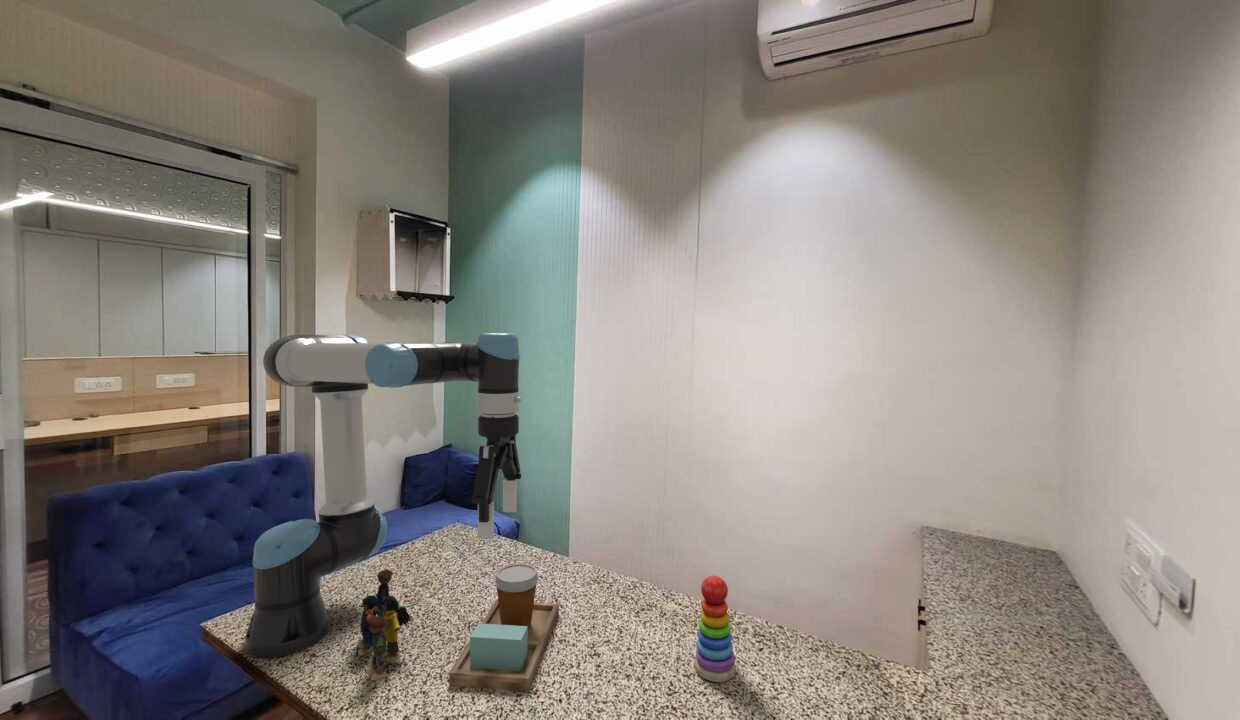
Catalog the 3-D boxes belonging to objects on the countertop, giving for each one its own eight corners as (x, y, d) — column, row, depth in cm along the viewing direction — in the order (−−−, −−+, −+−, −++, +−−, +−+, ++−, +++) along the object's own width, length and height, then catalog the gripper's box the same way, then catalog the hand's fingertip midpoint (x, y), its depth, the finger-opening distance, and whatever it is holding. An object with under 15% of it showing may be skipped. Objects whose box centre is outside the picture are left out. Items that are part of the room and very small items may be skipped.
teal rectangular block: (470, 667, 95) (469, 636, 95) (478, 652, 99) (478, 623, 99) (521, 670, 94) (521, 640, 94) (527, 655, 99) (527, 626, 98)
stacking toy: (706, 652, 103) (708, 563, 102) (742, 668, 98) (744, 575, 97) (686, 671, 97) (688, 577, 96) (723, 690, 92) (725, 591, 91)
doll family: (343, 631, 108) (342, 572, 108) (387, 616, 115) (386, 559, 114) (374, 688, 91) (373, 617, 91) (424, 667, 97) (424, 600, 97)
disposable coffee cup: (514, 645, 102) (514, 587, 101) (484, 628, 108) (485, 573, 107) (547, 624, 109) (548, 571, 109) (518, 609, 115) (518, 558, 115)
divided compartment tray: (449, 685, 92) (449, 672, 92) (496, 610, 118) (496, 600, 117) (528, 691, 91) (528, 678, 91) (558, 614, 116) (558, 603, 116)
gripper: (495, 426, 82) (495, 552, 83) (535, 405, 107) (534, 503, 108) (451, 425, 82) (451, 550, 84) (501, 404, 107) (501, 501, 108)
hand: (498, 524), depth 96 cm, fingers open, 13 cm apart
